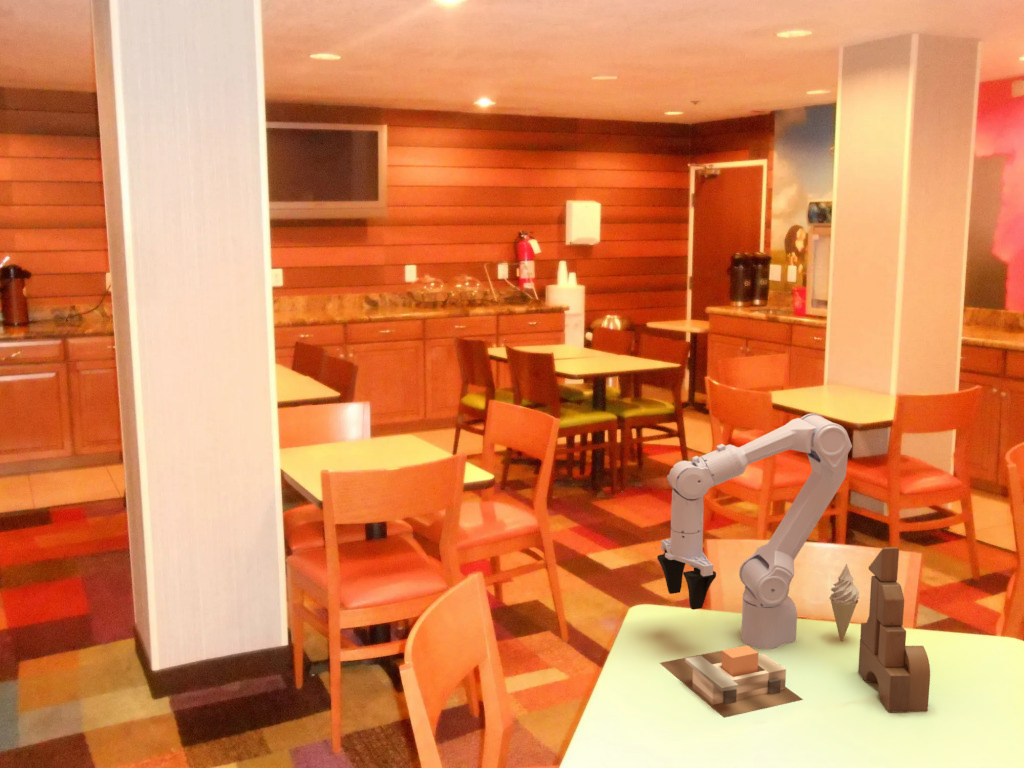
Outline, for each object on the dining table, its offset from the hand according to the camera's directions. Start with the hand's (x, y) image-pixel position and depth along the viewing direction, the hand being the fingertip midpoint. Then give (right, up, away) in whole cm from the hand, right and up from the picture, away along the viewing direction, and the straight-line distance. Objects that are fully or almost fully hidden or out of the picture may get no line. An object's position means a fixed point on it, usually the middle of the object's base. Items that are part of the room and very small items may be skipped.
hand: (685, 600), depth 173 cm
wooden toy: (+32, -12, -14) cm, 37 cm away
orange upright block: (+6, -10, -15) cm, 19 cm away
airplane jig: (+5, -12, -12) cm, 18 cm away
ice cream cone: (+30, -9, +5) cm, 32 cm away
